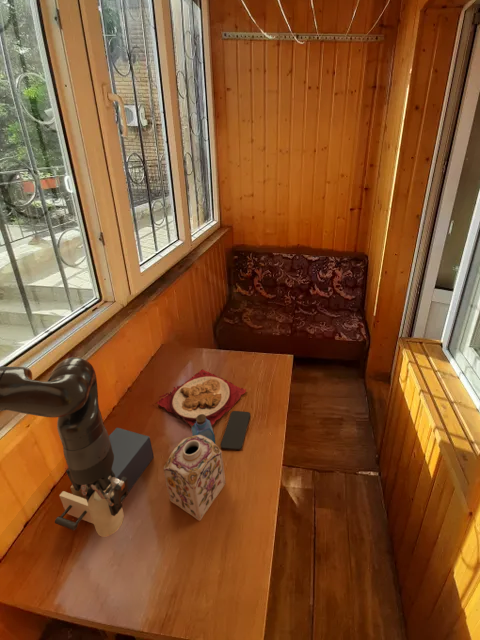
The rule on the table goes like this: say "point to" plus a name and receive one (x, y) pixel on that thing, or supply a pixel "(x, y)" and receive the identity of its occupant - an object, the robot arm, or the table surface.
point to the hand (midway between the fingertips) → (105, 506)
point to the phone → (235, 430)
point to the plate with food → (202, 398)
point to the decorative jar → (194, 475)
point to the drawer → (74, 509)
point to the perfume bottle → (203, 428)
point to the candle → (104, 515)
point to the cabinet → (130, 454)
